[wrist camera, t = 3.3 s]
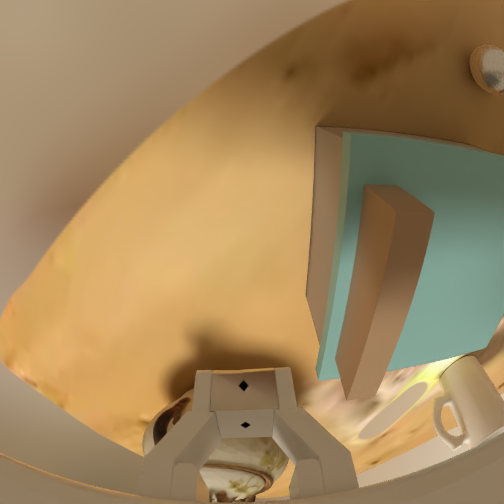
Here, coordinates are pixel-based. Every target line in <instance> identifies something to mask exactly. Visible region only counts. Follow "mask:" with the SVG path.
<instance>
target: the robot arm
mask: <svg viewBox="0 0 504 504" xmlns="http://www.w3.org/2000/svg"><path fill="white" fill-rule="evenodd" d="M245 437H272V438H273V439H274V440H275V442H276V443H277V444H278V445H279V447H280V448H281V449H282V450H283V451H284V453H285V454H286V455H287V456H288V457H289V459H290V460H291V461H292V462H293V463H294V465H295V470H294V473H293V476H292V479H291V483H290V486H289V491H290V499H289V500H279V501H265V502H241V503H219V502H209V489H208V487H207V485H206V484H205V482H204V480H203V478H202V476H201V474H200V472H199V471H200V470H201V468H202V467H203V465H204V464H205V463H206V461H207V460H208V458H209V457H210V455H211V454H212V453H213V451H214V450H215V448H216V447H217V445H218V444H219V442H220V441H221V438H245ZM0 504H504V432H503V433H501V434H499V435H497V436H495V437H494V438H492V439H490V440H488V441H486V442H484V443H482V444H480V445H478V446H476V447H474V448H472V449H470V450H468V451H466V452H464V453H461V454H459V455H457V456H455V457H452V458H450V459H448V460H445V461H443V462H440V463H438V464H435V465H433V466H430V467H428V468H425V469H422V470H419V471H417V472H413V473H410V474H408V475H404V476H401V477H398V478H394V479H391V480H388V481H384V482H381V483H377V484H373V485H369V486H365V487H361V488H359V486H358V481H357V477H356V473H355V469H354V465H353V461H352V457H351V453H350V451H349V450H348V449H347V448H346V447H345V446H343V445H342V444H341V443H340V442H339V441H338V440H337V439H336V438H335V437H333V436H332V435H331V434H330V433H329V432H328V431H327V430H326V429H325V428H324V427H323V426H321V425H320V424H319V423H318V422H317V421H316V420H315V419H314V418H313V417H312V416H311V415H310V414H309V413H308V412H307V411H306V410H304V409H303V408H302V407H297V402H296V396H295V390H294V384H293V379H292V373H291V369H290V367H280V368H261V369H244V370H197V372H196V375H195V384H194V394H193V403H192V411H187V412H186V413H185V414H184V415H183V416H182V418H181V419H180V420H179V421H178V422H177V423H176V424H175V425H174V426H173V427H172V428H171V430H170V431H169V432H168V433H167V434H166V435H165V436H164V437H163V438H162V439H161V440H160V441H159V442H158V443H157V444H156V446H155V447H154V448H153V449H152V450H151V451H150V452H149V453H148V454H147V455H146V456H145V457H144V459H143V465H142V470H141V477H140V483H139V490H138V495H133V494H128V493H123V492H118V491H113V490H108V489H104V488H100V487H96V486H92V485H88V484H84V483H80V482H77V481H74V480H70V479H67V478H64V477H61V476H57V475H54V474H51V473H49V472H46V471H43V470H40V469H37V468H35V467H32V466H30V465H27V464H25V463H22V462H20V461H18V460H15V459H13V458H11V457H8V456H6V455H4V454H2V453H0Z"/></svg>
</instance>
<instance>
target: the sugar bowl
mask: <svg viewBox="0 0 504 504" xmlns="http://www.w3.org/2000/svg"><path fill="white" fill-rule="evenodd" d="M193 394H194V388H193V389H191V390H189V391H187V392H185V393H184V394H183V396H182V397H180V398H179V399H178V400H176V401H174V402H173V403H171V404H169V405H168V406H166V407H165V408H164V409H162V410H161V411H160V412H159V413H158V414H157V415H156V416H155V417H154V418H153V419H152V420H151V422H150V423H149V424H148V426H147V428H146V430H145V433H144V436H143V443H142V445H143V453H144V456H146V455H147V454H148V453H149V452H150V451H151V450H152V449H153V448H154V447H155V446H156V444H157V443H158V442H159V441H160V440H161V439H162V438H163V437H164V436H165V435H166V434H167V433H168V432H169V431H170V430H171V428H172V427H173V426H174V425H175V424H176V423H177V422H178V421H179V420H180V419H181V418H182V416H183V415H184V414H185V413H186V412H187V411H192V403H193ZM288 460H289V457H288V456H287V455H286V454H285V453H284V451H283V450H282V449H281V448H280V447H279V445H278V444H277V443H276V442H275V440H274V439H273V438H272V437H245V438H221V441H220V442H219V444H218V445H217V447H216V448H215V450H214V451H213V453H212V454H211V455H210V457H209V458H208V460H207V461H206V463H205V464H204V465H203V467H202V468H201V470H200V471H199V472H200V474H201V476H202V478H203V480H204V482H205V484H206V485H207V487H208V489H209V502H212V501H217V502H219V503H231V502H232V501H235V502H237V503H241V502H255V497H256V496H255V495H256V494H259V493H262V492H264V491H266V490H268V489H269V488H270V487H271V486H272V485H273V483H274V482H275V481H276V480H277V479H278V478H279V477H280V476H281V475H282V473H283V471H284V470H285V468H286V466H287V464H288ZM242 498H244V499H242Z"/></svg>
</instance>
